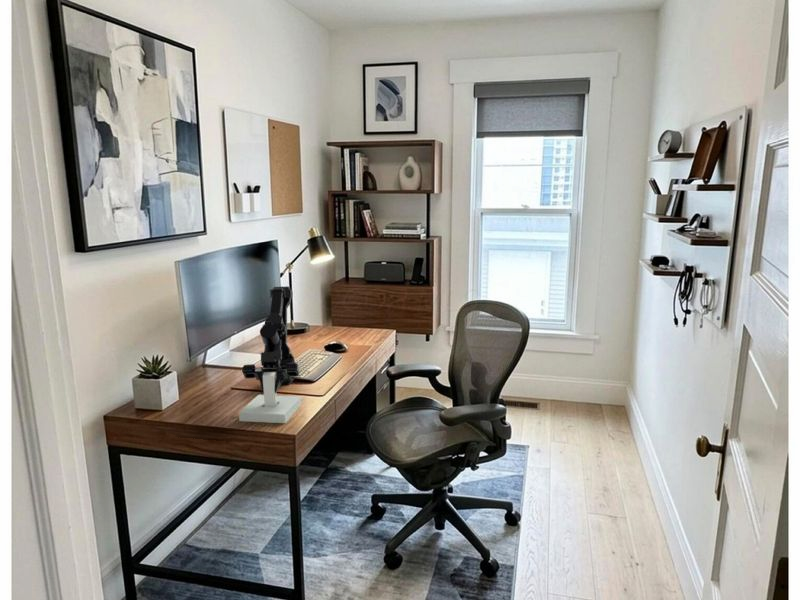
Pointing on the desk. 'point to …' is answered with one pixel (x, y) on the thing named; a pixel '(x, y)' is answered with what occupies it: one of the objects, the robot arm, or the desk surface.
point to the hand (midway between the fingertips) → (269, 393)
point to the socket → (270, 410)
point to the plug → (269, 389)
